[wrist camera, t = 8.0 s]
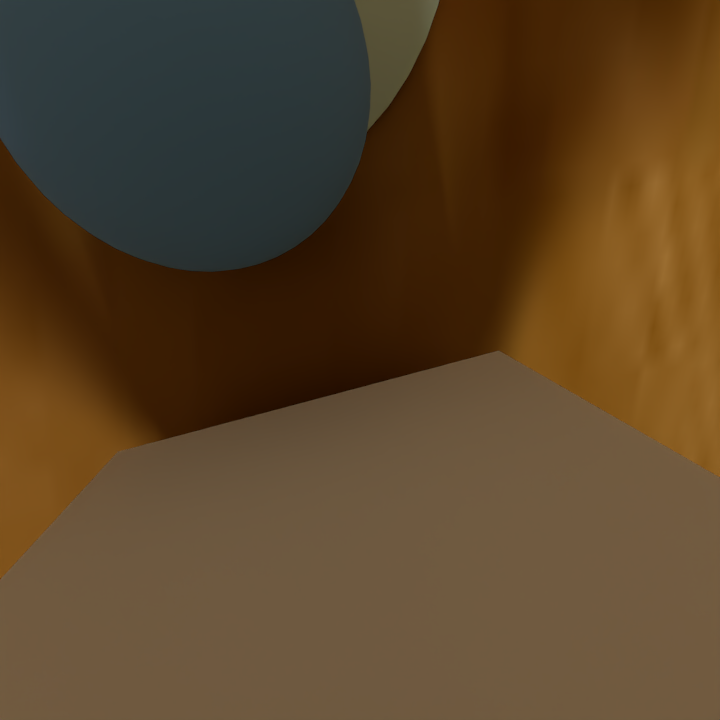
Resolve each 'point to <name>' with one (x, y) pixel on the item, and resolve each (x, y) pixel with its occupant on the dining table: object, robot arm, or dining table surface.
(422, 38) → the disc
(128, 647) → the white block
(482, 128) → the dining table surface
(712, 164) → the dining table surface
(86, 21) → the ball
